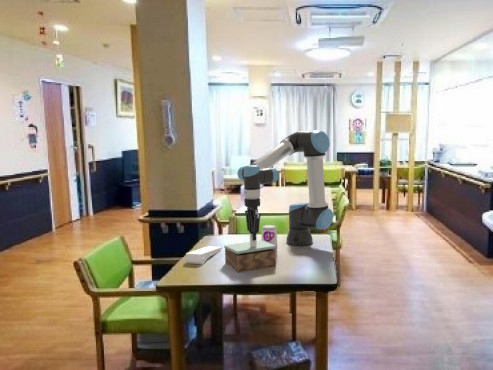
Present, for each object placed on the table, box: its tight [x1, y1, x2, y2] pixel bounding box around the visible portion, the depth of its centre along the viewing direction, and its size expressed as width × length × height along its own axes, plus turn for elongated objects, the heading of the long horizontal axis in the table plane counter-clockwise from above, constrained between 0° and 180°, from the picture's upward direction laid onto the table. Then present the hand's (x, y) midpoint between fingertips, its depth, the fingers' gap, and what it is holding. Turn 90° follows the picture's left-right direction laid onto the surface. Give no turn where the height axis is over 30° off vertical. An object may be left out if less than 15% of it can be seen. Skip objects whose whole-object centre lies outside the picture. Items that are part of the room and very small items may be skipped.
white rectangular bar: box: [185, 245, 223, 265], centre depth 231 cm, size 10×7×28 cm
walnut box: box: [224, 248, 277, 274], centre depth 214 cm, size 20×17×8 cm
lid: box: [223, 239, 278, 254], centre depth 213 cm, size 21×16×1 cm
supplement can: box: [261, 224, 278, 254], centre depth 232 cm, size 8×8×15 cm
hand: (253, 246), depth 210 cm, fingers closed
